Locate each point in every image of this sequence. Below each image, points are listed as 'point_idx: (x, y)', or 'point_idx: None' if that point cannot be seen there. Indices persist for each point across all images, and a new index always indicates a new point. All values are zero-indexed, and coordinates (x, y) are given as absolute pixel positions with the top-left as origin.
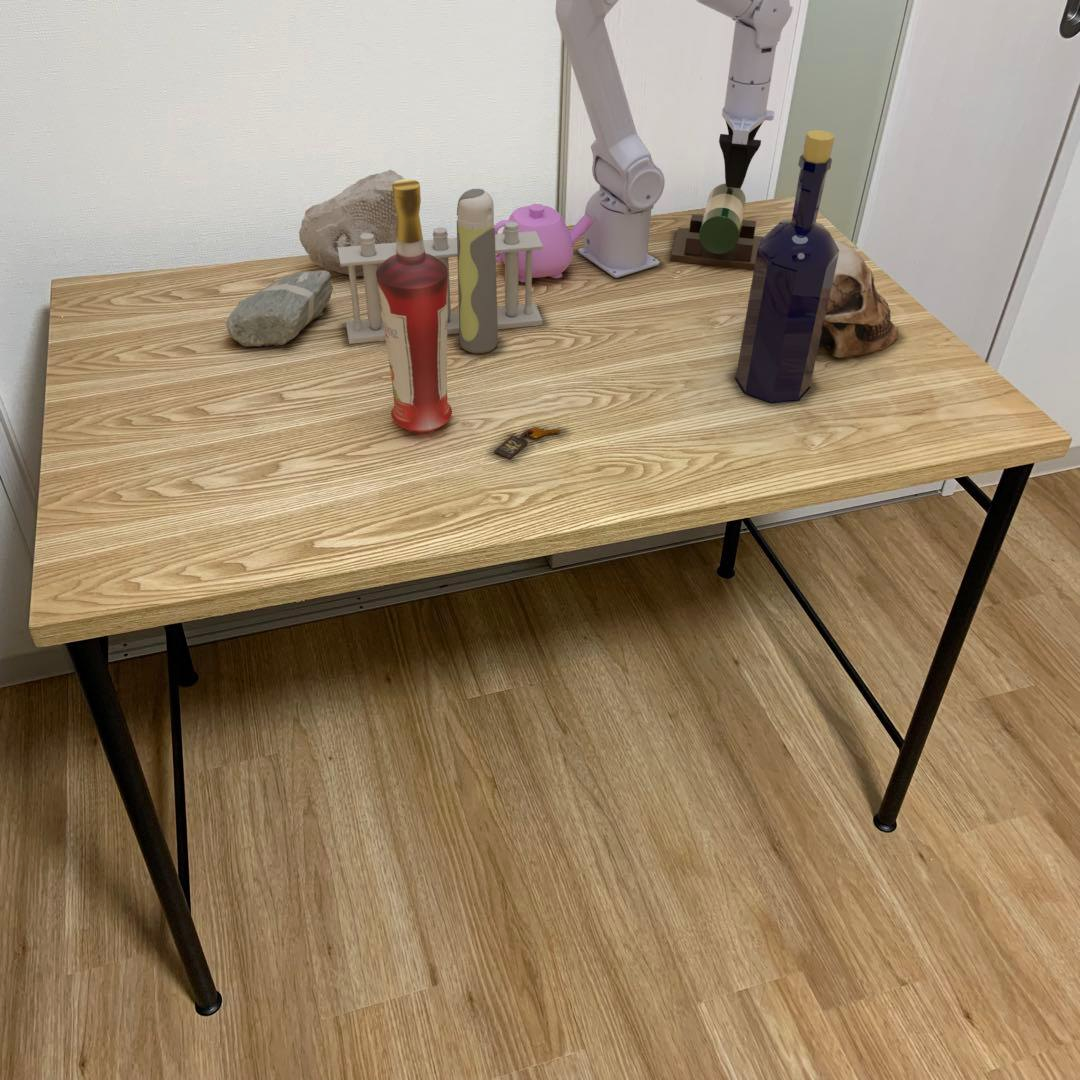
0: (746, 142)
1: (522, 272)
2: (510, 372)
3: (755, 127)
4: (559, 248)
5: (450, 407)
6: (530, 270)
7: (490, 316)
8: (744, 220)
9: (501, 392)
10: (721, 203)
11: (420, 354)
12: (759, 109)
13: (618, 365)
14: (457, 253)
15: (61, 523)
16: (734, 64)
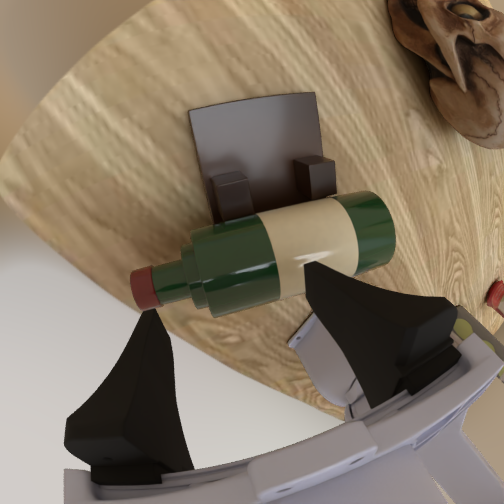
0: (478, 337)
1: None
2: (474, 283)
3: (443, 390)
4: None
5: (497, 285)
6: (459, 338)
7: (477, 320)
8: (226, 210)
9: (484, 275)
10: (338, 270)
11: None
12: (424, 479)
13: (478, 228)
14: None
15: (494, 332)
16: None
